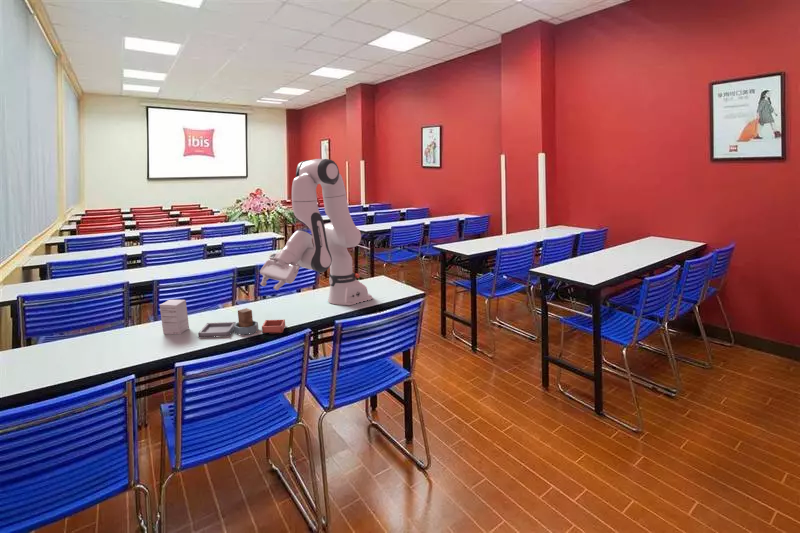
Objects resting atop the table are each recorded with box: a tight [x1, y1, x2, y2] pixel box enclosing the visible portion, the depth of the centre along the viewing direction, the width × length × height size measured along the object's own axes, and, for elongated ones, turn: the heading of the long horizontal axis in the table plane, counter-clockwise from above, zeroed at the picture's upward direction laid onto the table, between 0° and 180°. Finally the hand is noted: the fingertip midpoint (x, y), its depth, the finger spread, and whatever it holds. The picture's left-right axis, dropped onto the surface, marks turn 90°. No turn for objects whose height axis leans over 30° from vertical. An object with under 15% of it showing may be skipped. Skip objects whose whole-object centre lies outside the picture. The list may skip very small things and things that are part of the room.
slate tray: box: [197, 321, 237, 338], centre depth 187 cm, size 12×12×2 cm
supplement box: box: [159, 299, 190, 335], centre depth 187 cm, size 7×7×13 cm
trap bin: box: [261, 319, 286, 334], centre depth 189 cm, size 8×8×3 cm
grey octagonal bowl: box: [233, 320, 259, 335], centre depth 188 cm, size 9×9×3 cm
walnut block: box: [237, 307, 254, 327], centre depth 188 cm, size 4×4×9 cm
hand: (268, 287), depth 194 cm, fingers open, 8 cm apart
